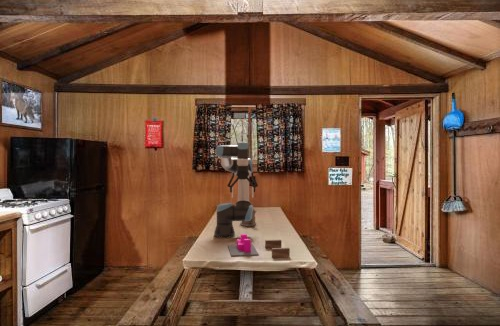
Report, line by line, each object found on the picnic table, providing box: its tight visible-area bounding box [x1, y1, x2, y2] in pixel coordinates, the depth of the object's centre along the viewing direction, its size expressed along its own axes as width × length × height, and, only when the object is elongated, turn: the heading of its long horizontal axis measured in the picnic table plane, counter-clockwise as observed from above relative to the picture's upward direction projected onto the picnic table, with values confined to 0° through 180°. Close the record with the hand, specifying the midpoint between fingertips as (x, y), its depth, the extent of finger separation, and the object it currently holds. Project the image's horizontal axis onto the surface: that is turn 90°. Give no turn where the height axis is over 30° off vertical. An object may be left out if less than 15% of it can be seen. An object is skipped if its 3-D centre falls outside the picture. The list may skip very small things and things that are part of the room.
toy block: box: [236, 233, 252, 253], centre depth 201 cm, size 15×6×8 cm, turn 11°
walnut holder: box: [264, 239, 291, 259], centre depth 197 cm, size 21×10×5 cm, turn 9°
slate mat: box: [227, 243, 260, 258], centre depth 200 cm, size 22×16×1 cm
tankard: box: [239, 207, 257, 227], centre depth 276 cm, size 20×13×15 cm, turn 25°
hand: (242, 197), depth 217 cm, fingers open, 13 cm apart
